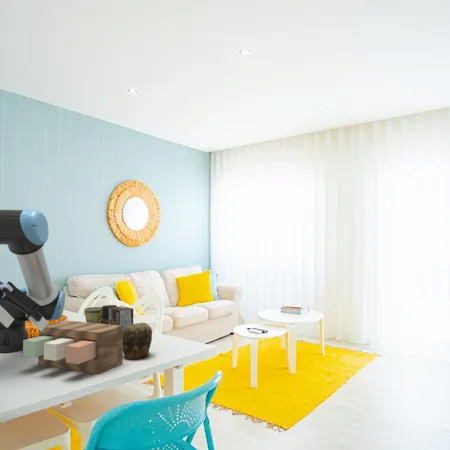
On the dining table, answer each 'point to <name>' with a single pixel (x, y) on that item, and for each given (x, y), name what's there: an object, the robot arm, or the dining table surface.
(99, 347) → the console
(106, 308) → the deodorant
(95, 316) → the ceramic cup
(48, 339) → the key sage
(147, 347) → the shell
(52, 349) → the key cream
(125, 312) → the coffee box
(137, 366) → the dining table surface
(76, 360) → the key terracotta
